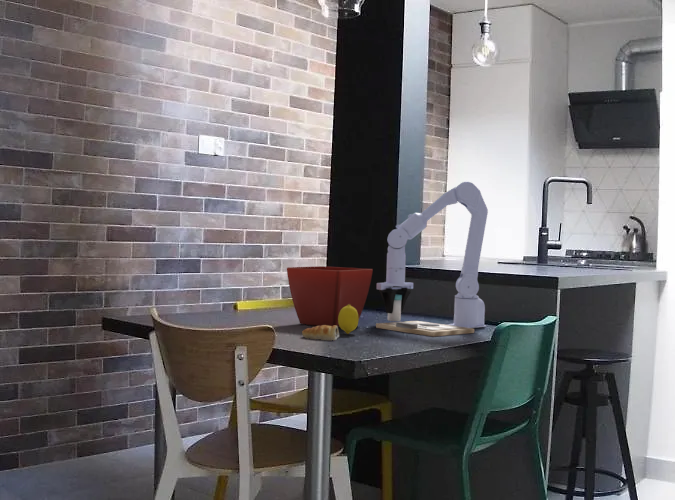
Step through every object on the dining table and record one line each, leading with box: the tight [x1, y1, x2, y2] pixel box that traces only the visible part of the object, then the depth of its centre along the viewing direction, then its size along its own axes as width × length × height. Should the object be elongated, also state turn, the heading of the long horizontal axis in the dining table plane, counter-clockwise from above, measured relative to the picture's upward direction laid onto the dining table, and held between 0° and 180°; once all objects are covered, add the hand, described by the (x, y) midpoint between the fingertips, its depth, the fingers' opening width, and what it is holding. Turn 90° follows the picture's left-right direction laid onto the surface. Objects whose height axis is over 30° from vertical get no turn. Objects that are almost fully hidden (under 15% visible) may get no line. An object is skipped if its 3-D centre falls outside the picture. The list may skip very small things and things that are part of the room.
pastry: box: [301, 325, 340, 341], centre depth 210 cm, size 9×7×4 cm
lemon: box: [338, 305, 360, 335], centre depth 221 cm, size 6×6×8 cm
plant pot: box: [286, 265, 373, 328], centre depth 241 cm, size 19×19×17 cm
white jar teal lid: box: [387, 294, 402, 322], centre depth 250 cm, size 4×4×8 cm
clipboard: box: [375, 320, 475, 337], centre depth 236 cm, size 18×22×2 cm
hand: (394, 312), depth 250 cm, fingers closed on white jar teal lid, 4 cm apart
